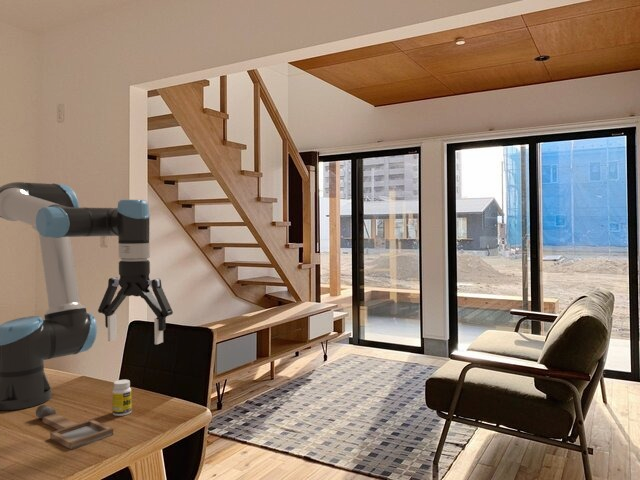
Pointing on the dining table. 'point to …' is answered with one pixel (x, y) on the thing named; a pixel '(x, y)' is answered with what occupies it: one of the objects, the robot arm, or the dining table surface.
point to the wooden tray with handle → (72, 429)
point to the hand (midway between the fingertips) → (135, 341)
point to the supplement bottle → (122, 398)
